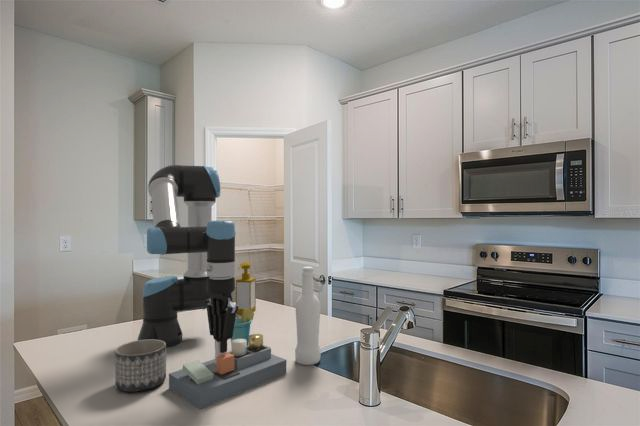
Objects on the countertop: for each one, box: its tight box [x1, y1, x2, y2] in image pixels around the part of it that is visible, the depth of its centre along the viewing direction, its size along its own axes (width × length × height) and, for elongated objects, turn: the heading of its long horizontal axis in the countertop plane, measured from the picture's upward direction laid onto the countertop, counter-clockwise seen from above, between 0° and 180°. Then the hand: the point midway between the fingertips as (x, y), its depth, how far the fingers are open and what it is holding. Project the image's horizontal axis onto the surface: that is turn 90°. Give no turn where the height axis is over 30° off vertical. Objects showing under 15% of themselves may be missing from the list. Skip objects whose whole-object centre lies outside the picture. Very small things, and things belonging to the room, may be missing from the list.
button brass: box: [248, 333, 264, 350], centre depth 115 cm, size 4×4×4 cm
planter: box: [114, 339, 167, 392], centre depth 106 cm, size 13×13×10 cm
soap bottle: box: [235, 261, 257, 315], centre depth 179 cm, size 7×13×24 cm, turn 170°
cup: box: [230, 308, 255, 347], centre depth 129 cm, size 14×8×15 cm, turn 156°
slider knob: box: [216, 353, 234, 375], centre depth 104 cm, size 2×4×4 cm, turn 137°
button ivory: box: [231, 339, 247, 356], centre depth 110 cm, size 4×4×4 cm
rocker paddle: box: [181, 359, 214, 384], centre depth 101 cm, size 8×4×1 cm, turn 47°
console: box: [168, 344, 287, 410], centre depth 108 cm, size 16×28×7 cm, turn 137°
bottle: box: [294, 266, 322, 366], centre depth 122 cm, size 8×8×30 cm
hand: (221, 363), depth 105 cm, fingers closed
